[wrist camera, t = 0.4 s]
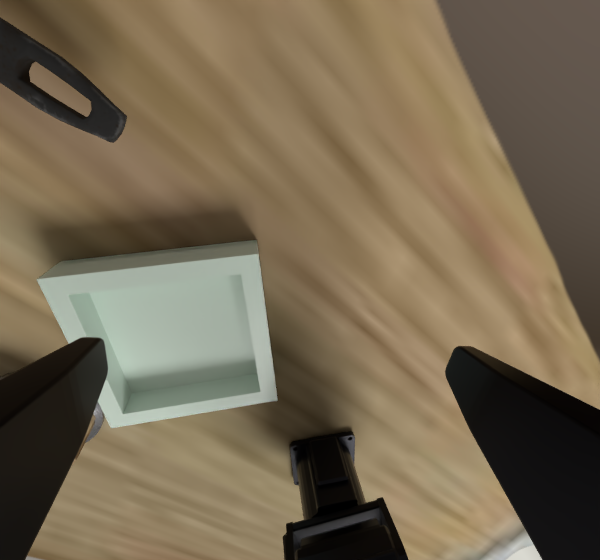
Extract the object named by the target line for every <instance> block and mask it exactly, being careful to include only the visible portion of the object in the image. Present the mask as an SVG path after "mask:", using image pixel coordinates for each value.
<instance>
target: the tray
mask: <svg viewBox="0 0 600 560" xmlns="http://www.w3.org/2000/svg"><path fill="white" fill-rule="evenodd" d="M37 281H38V283H39V285H40V287H41V289H42V291H43V293H44V295H45V297H46V299H47V301H48V303H49V305H50V307H51V309H52V311H53V313H54V315H55V317H56V319H57V321H58V323H59V325H60V327H61V329H62V331H63V333H64V335H65V337H66V339H67V341H68V343H71V342H73V341H75V340H77V339H79V338H82V337H99V338H102V339H103V340H104V343H105V349H106V355H107V362H108V373H107V377H106V380H105V383H104V386H103V388H102V391H101V394H100V397H99V399H98V403H99V405H100V407H101V409H102V411H103V413H104V415H105V417H106V419H107V421H108V423H109V425H110V427H111V428H115V427H121V426H127V425H133V424H139V423H145V422H151V421H158V420H164V419H170V418H176V417H182V416H188V415H194V414H200V413H206V412H212V411H218V410H224V409H230V408H236V407H242V406H248V405H254V404H260V403H266V402H272V401H278V399H277V390H276V382H275V373H274V366H273V358H272V351H271V343H270V335H269V328H268V320H267V313H266V305H265V298H264V290H263V282H262V275H261V267H260V260H259V252H258V244H257V240H249V241H240V242H231V243H222V244H213V245H204V246H194V247H185V248H176V249H167V250H158V251H149V252H140V253H131V254H122V255H113V256H104V257H95V258H86V259H76V260H67V261H60V262H59V263H58V264H56V265H55V266H54V267H52V268H51V269H50V270H48V271H47V272H46V273H44V274H43V275H42V276H40V277H39V278H38V279H37Z"/></svg>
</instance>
